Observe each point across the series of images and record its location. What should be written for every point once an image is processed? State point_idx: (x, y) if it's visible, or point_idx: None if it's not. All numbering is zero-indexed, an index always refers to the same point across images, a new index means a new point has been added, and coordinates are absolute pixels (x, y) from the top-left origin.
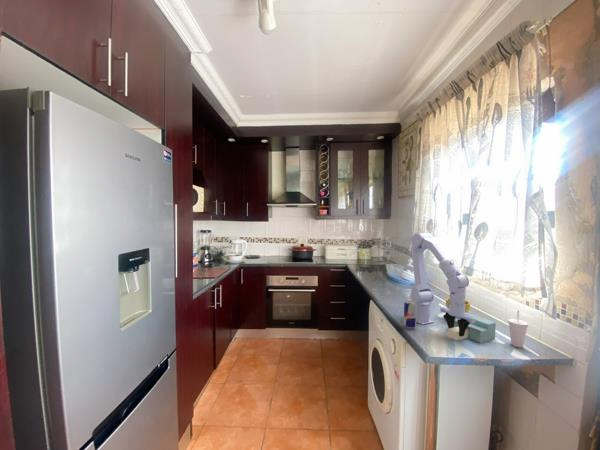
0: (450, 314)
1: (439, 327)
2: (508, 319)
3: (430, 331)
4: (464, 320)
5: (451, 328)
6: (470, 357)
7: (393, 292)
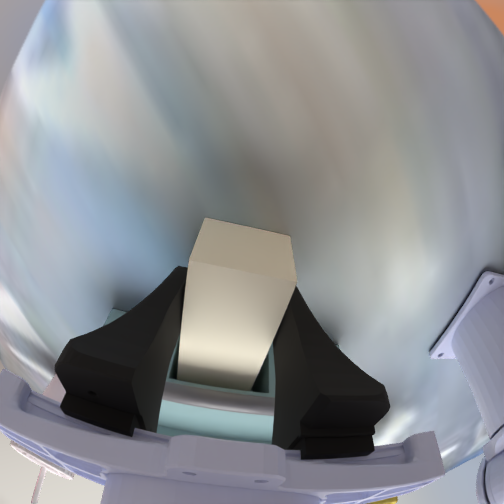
0: (232, 456)
1: (389, 326)
2: (63, 473)
3: (425, 211)
4: (84, 405)
5: (272, 308)
6: (21, 56)
7: None
